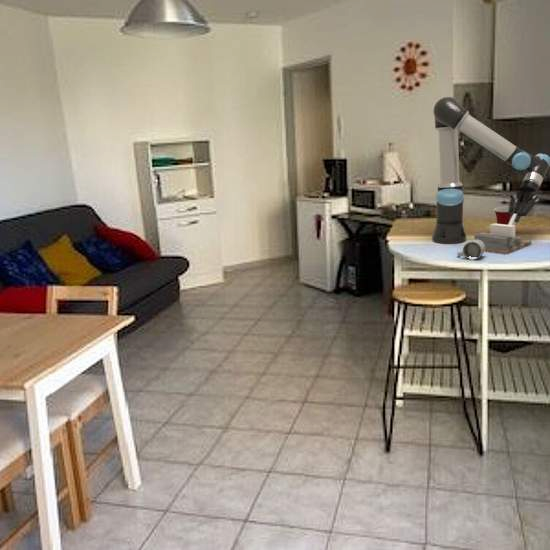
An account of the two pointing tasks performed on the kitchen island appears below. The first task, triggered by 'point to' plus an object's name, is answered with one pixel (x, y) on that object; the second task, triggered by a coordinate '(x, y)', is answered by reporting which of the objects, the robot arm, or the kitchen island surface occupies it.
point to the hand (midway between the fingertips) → (510, 227)
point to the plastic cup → (502, 215)
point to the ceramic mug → (473, 249)
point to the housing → (501, 243)
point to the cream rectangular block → (503, 229)
